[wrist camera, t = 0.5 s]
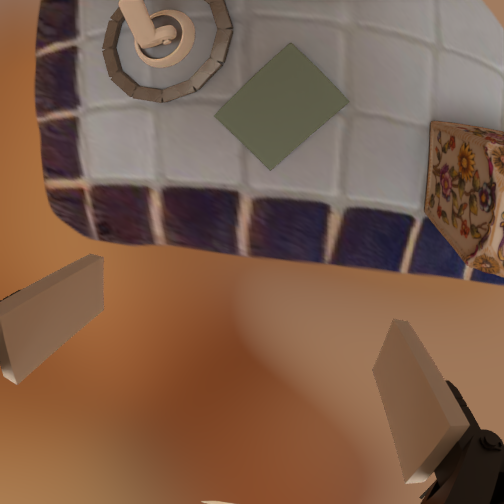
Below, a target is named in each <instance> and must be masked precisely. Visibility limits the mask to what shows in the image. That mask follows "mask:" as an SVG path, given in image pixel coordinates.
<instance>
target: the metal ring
mask: <svg viewBox="0 0 504 504" xmlns="http://www.w3.org/2000/svg"><path fill="white" fill-rule="evenodd" d="M204 1H206V2H207V3H208V4H210V7H211V10H212V13H213V16H214V19H215V22H216V26H217V29H218V30H217V34H216V37H215V41H214V44H213V48H212V52H211V55H210V58H209V59H208V60H207V61H206V62H205V63H204V64H203V65H202V66H201V67H200V69H199V70H198V71H197V72H196V73H195V74H194V75H193V76H192V77H191V78H190V79H189V80H188V81H185V82H182V83H180V84H177V85H174V86H172V87H169V88H166V89H164V90H161V89H155V88H148V87H141V86H139V85H138V84H137V83H136V82H135V81H134V80H132V79H131V78H130V77H129V76H128V75H127V74H126V73H124V72H123V71H122V67H121V64H120V60H119V56H118V53H117V49H116V46H117V42H118V38H119V34H120V30H121V26H122V23H123V21H124V20H125V17H124V15H123V13H122V11H121V9H120V7H119V8H118V9H117V10H116V11H115V13H114V14H113V15H112V16H111V19H112V21H109V22H108V26H107V30H106V34H105V39H104V43H103V47H102V49H105V50H104V51H102V52H103V56H104V60H105V63H106V67H107V71H108V74H109V77H112V78H111V80H112V81H113V82H114V83H115V84H116V85H117V86H119V87H120V88H121V89H122V90H123V91H124V92H125V93H126V94H127V95H129V96H130V97H133V98H135V99H141V100H147V101H153V102H159V103H163V102H169V101H171V100H174V99H177V98H179V97H182V96H185V95H188V94H191V93H194V92H196V91H197V90H200V89H201V88H202V87H203V86H204V84H205V83H206V82H207V81H208V80H209V79H210V78H211V77H212V76H213V75H214V74H215V73H216V72H217V71H218V70H219V69H220V68H221V67H222V66H223V65H222V64H221V63H220V62H225V59H226V56H227V52H228V48H229V45H230V41H231V38H232V34H233V31H232V30H230V29H233V26H232V23H231V20H230V17H229V14H228V10H227V7H226V4H225V1H224V0H204Z"/></svg>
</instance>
